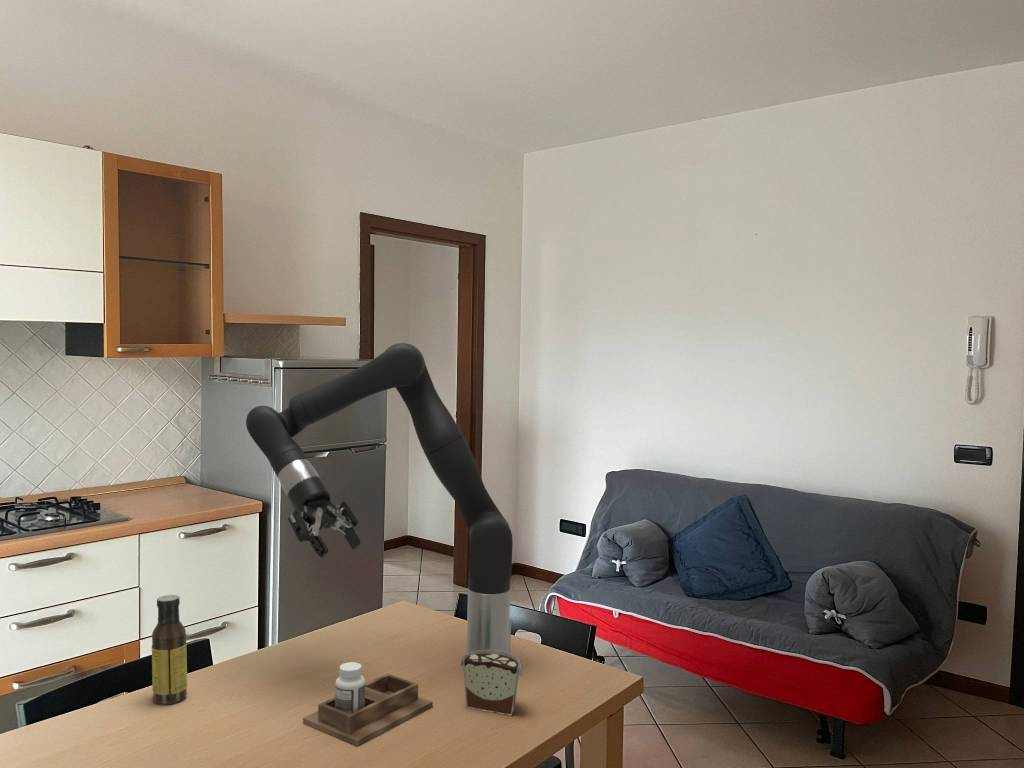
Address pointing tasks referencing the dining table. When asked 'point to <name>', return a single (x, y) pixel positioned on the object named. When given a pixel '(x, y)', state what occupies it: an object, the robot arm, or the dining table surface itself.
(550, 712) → the dining table surface
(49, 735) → the dining table surface
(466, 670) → the food container
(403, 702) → the walnut organizer
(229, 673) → the dining table surface
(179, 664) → the sauce bottle
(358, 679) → the pill bottle
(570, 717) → the dining table surface
